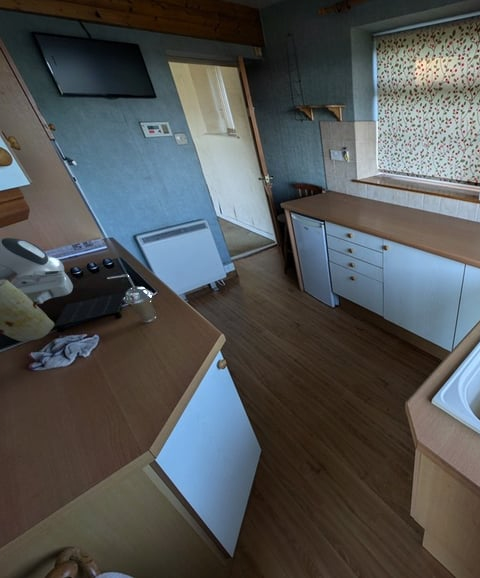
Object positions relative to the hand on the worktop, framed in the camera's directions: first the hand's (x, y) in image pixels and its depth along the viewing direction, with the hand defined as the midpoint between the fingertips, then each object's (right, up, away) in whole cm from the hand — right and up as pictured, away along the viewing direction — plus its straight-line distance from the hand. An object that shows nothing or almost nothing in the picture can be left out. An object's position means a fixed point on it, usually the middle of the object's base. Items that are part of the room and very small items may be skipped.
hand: (14, 306), depth 83 cm
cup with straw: (+17, -7, +26) cm, 32 cm away
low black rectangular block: (-5, -5, +29) cm, 30 cm away
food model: (0, -9, +6) cm, 11 cm away
